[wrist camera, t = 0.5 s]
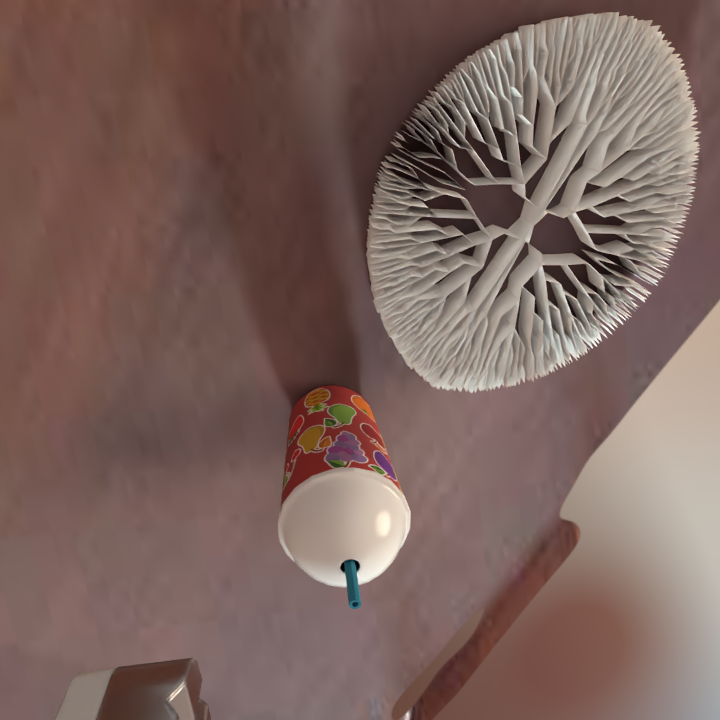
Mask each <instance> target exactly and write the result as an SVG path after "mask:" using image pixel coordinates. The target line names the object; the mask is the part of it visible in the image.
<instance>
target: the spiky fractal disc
mask: <svg viewBox="0 0 720 720" xmlns="http://www.w3.org/2000/svg"><path fill="white" fill-rule="evenodd" d="M633 18H634V16H630V17H627V15H625V16H619V12H617V13H613V12H606V13H600V14H594V13H591V14H584V15H578V16H573V17H568V16H567V17H561V18H554V19H551V20H545V21H541V22H540V23H538V24H536V25H534V24H532V25H525V26H518V31H514V33H507V34H503V35H504V36H501V39H499V40H494V43H490V45H489V46H485V48H481V50H478V51H475V52H476V53H473V56H467V59H465V62H461V63H459V65H455V66H456V69H452V70H453V71H454V72H449V73H450V75H446V74H445V76H446V78H447V79H443V78H442V79H443V81H444V82H442V81H440V84H436V85H437V86H439V87H437V86H434V88H435V89H436V91H437V92H434V91H429V90H428V91H429V92H430V94H431V95H432V96H433V97H430V96H426V95H425V96H426V97H427V99H428V100H429V101H427V100H424V99H423V100H424V102H425V103H424V102H422V103H423V104H424V105H426V106H427V107H428V108H429V109H430V110H431V111H432V112H433V114H434V115H435V117H436V118H437V120H438V123H439V124H438V123H437V121H436V120H435V119H434V117H433V116H432V115H431V113H430V112H429V111H428V109H427V108H426V107H425V106H424V105H421V104H418V103H417V105H418V106H419V107H420V109H421V110H422V111H423V112H422V111H421V110H418V109H415V108H414V109H415V110H416V111H417V112H418V113H416V112H414V111H412V112H413V113H414V114H415V115H416V116H417V118H419V119H420V120H421V121H423V122H424V123H425V124H426V125H427V126H428V127H429V128H430V131H431V134H432V135H431V134H430V133H429V132H428V131H427V130H426V129H425V128H424V127H423V126H422V125H421V124H420V123H419V122H418V121H417V120H416V119H414V118H411V117H410V118H411V119H412V120H413V121H414V123H415V124H416V125H417V126H418V127H419V128H420V129H421V130H422V131H423V132H424V133H425V134H426V135H428V136H430V137H432V138H433V139H435V140H436V141H438V142H440V143H441V144H443V143H442V141H441V138H440V135H439V132H438V131H437V130H436V129H435V128H434V127H433V126H432V125H430V124H429V123H428V122H427V121H426V120H428V121H429V122H431V123H432V124H433V125H434V126H435V127H436V128H437V129H438V130H439V131H440V132H441V133H442V134H443V135H444V136H445V138H446V139H447V140H448V141H449V142H450V143H451V144H453V145H455V146H457V147H459V148H463V149H466V150H467V151H468V153H469V154H470V155H471V157H472V158H473V160H474V161H475V162H476V164H477V165H478V167H479V168H480V170H481V171H482V172H483V174H484V175H485V177H482V178H466V177H465V176H464V175H463V174H462V173H461V172H459V171H458V169H457V165H456V161H455V157H454V153H453V150H452V149H451V148H449V147H448V146H446V145H445V144H443V148H444V151H445V155H446V159H447V160H446V159H445V158H444V157H443V156H442V155H441V154H440V153H439V152H438V151H437V149H436V147H435V145H434V144H433V142H432V140H431V139H430V138H429V137H427V136H426V135H425V134H424V133H423V132H422V131H420V130H419V129H418V128H417V127H415V126H414V125H413V124H412V123H410V122H408V121H406V120H405V121H406V122H407V123H409V124H410V125H411V126H412V127H414V128H415V129H416V130H417V131H418V132H419V133H421V134H422V135H423V137H424V139H425V140H426V142H427V144H426V143H425V142H424V141H423V140H422V139H421V138H420V137H419V136H418V135H417V134H416V133H415V130H414V129H412V128H411V127H410V126H409V125H407V124H405V123H403V122H402V123H403V124H405V125H406V126H407V128H406V129H408V130H409V131H410V132H411V133H412V134H413V135H414V136H415V137H413V136H411V137H413V138H414V139H417V140H419V141H422V142H423V143H424V144H426V145H427V146H429V147H430V148H431V149H432V150H433V151H434V152H435V153H436V154H438V155H439V156H440V157H441V158H442V160H444V161H445V162H446V163H448V164H449V165H450V166H451V167H452V168H453V169H454V170H455V171H456V172H457V173H458V174H460V175H461V176H462V177H463V178H464V179H465V180H467V181H469V182H470V183H472V184H473V185H493V184H512V190H513V191H514V192H515V193H517V194H518V195H519V196H521V197H522V198H523V199H525V202H524V205H523V209H522V212H521V216H520V218H519V219H518V220H517V221H516V222H515V223H514V224H513V225H512V226H511V227H510V228H508V229H504V228H501V227H498V226H495V225H490V226H488V227H486V228H484V227H483V225H482V224H481V222H480V221H479V219H478V218H477V216H476V214H475V213H474V211H473V209H472V207H471V206H470V204H469V202H468V201H467V199H465V198H464V197H463V196H461V195H460V194H459V193H457V192H455V191H451V190H447V189H443V188H439V187H435V186H431V185H429V184H427V183H424V182H422V181H421V180H420V179H419V178H418V176H417V175H416V173H415V172H414V170H413V169H412V168H411V167H410V166H408V165H407V164H406V163H408V164H410V165H412V166H414V167H416V168H417V169H419V170H421V171H422V172H424V173H426V172H425V171H423V170H422V169H420V168H418V167H417V166H415V165H413V164H412V163H410V162H408V161H407V160H405V159H403V158H401V157H399V156H397V155H395V154H393V153H392V154H393V155H394V156H395V157H396V158H398V159H400V160H402V161H404V162H406V163H404V162H402V161H400V160H397V159H395V158H393V157H391V156H385V157H386V158H387V159H388V160H389V161H390V162H398V163H400V164H402V165H404V166H407V167H408V168H409V169H410V171H411V172H412V173H411V172H409V171H407V170H405V169H402V168H400V167H398V166H395V165H393V164H391V163H388V162H386V161H385V160H384V161H385V162H381V163H382V164H383V165H384V167H385V168H383V167H381V166H380V167H381V169H382V170H383V171H384V172H386V173H384V172H382V171H381V170H379V169H378V170H379V171H380V172H381V173H382V174H381V173H378V172H377V173H378V174H379V175H380V176H377V175H376V176H377V177H378V178H379V179H380V181H377V182H378V184H379V185H378V184H376V183H375V182H374V183H375V184H376V186H374V188H375V189H373V190H374V191H375V192H376V194H372V196H373V197H374V198H373V200H374V201H372V202H373V203H374V205H373V204H370V205H371V206H372V208H373V209H369V211H370V213H371V214H372V215H368V216H369V218H368V219H369V221H370V222H369V224H370V225H369V226H368V227H369V229H367V231H368V233H367V235H368V237H366V238H367V240H368V241H366V242H367V244H366V246H367V249H368V250H366V251H367V253H365V254H366V256H367V260H368V261H367V265H368V268H369V270H368V271H369V273H370V274H369V276H370V278H369V279H370V281H371V287H370V289H371V291H372V294H373V297H374V300H373V302H374V305H375V308H376V311H377V313H380V315H381V316H380V317H381V320H382V322H383V325H384V328H385V330H387V333H388V336H389V338H390V337H391V338H392V340H393V342H394V345H395V347H396V348H397V350H398V352H399V354H400V353H401V355H402V357H403V358H404V360H405V363H406V364H407V366H408V365H409V367H410V369H411V370H412V369H413V368H414V369H415V372H416V374H417V372H418V374H419V376H420V377H421V376H422V377H423V379H424V382H425V380H426V381H427V382H428V381H429V383H430V385H431V388H432V386H433V387H435V386H436V388H438V391H439V389H440V387H441V386H442V388H443V389H444V387H445V389H446V390H448V391H449V390H450V388H451V390H452V388H453V390H454V392H455V390H456V387H457V389H458V391H459V390H460V392H461V390H462V388H463V387H464V389H465V391H466V393H467V391H468V390H469V392H472V393H473V390H474V391H475V393H476V391H477V388H479V390H480V392H481V390H482V391H483V390H485V389H486V391H488V388H489V389H490V390H491V389H492V388H493V389H494V390H495V387H496V386H497V387H498V389H499V388H500V386H501V384H502V386H503V387H504V385H505V386H506V388H507V387H508V386H509V387H510V386H511V385H512V387H513V384H514V386H515V387H516V382H518V384H519V385H520V378H521V379H522V381H523V382H524V383H525V376H526V378H527V379H528V380H529V379H530V378H531V380H532V381H533V382H534V376H535V377H536V379H537V373H538V374H539V375H540V377H541V376H543V377H544V374H545V376H546V373H547V374H548V372H549V370H550V371H551V372H552V370H553V371H554V367H555V368H556V369H557V365H556V362H557V364H558V365H559V366H560V367H561V368H562V366H561V363H562V364H563V365H564V366H565V362H564V361H565V360H564V358H565V359H566V360H567V361H568V362H569V359H570V360H571V357H570V354H571V355H572V356H573V357H574V358H575V359H576V360H577V357H578V358H579V354H578V352H579V350H580V351H581V352H582V353H583V354H584V355H585V353H584V351H585V352H586V353H587V349H586V347H587V346H586V345H585V344H584V343H583V341H582V339H583V340H584V341H585V342H586V343H587V344H588V345H589V346H591V347H592V345H591V343H590V341H591V342H592V343H593V344H594V345H595V346H596V343H595V341H597V342H598V340H597V338H598V339H599V340H600V341H601V342H602V340H601V337H600V334H599V332H601V333H602V334H603V335H604V336H605V337H606V335H605V334H604V332H603V330H602V329H601V327H600V326H599V324H600V325H601V326H602V327H604V328H605V329H606V330H607V331H608V332H610V331H609V329H608V328H607V327H606V326H604V325H603V324H602V323H601V322H600V321H598V320H597V319H596V318H595V317H594V316H593V315H592V312H593V310H594V312H595V313H596V314H597V316H598V317H599V318H600V319H601V320H603V321H604V322H605V323H606V324H607V325H609V326H610V327H611V328H612V329H614V328H613V327H612V326H611V324H610V323H609V322H608V321H610V322H611V323H612V324H613V325H615V323H614V321H613V320H612V319H611V318H610V316H609V315H608V313H609V314H610V315H611V316H613V317H614V318H615V319H616V320H618V321H619V322H620V323H622V322H621V320H620V319H619V318H618V316H617V315H616V313H617V314H618V315H619V316H621V315H620V314H619V313H618V312H616V311H615V310H614V309H612V308H611V307H610V306H608V305H607V304H606V303H605V302H604V301H603V299H602V298H604V299H605V300H606V301H607V302H608V303H609V304H610V305H611V306H612V307H614V308H615V309H616V310H618V311H619V312H620V313H622V314H623V313H624V314H626V315H628V314H627V313H625V312H624V311H623V310H621V309H620V308H619V307H617V306H616V305H615V303H616V304H618V305H619V306H621V307H622V308H623V309H625V310H626V311H627V312H629V311H628V310H627V309H626V308H625V307H624V306H623V305H622V303H621V302H620V301H622V302H623V303H624V304H626V303H625V302H624V301H623V300H625V301H626V302H628V303H629V304H631V305H632V306H633V307H635V305H636V304H634V303H633V302H632V301H630V300H629V299H628V298H630V299H633V298H631V297H630V296H628V295H627V294H625V293H624V292H622V291H621V290H619V289H618V288H615V287H613V286H612V285H611V284H610V283H609V282H611V283H612V284H614V285H619V286H633V287H634V288H636V289H637V290H639V291H641V292H642V293H644V294H645V295H647V294H646V293H648V294H651V293H649V292H648V291H646V290H645V289H646V288H645V289H643V288H644V287H643V288H641V287H640V286H641V285H640V286H638V285H639V284H638V283H636V282H634V281H633V280H631V279H629V278H628V277H626V276H624V275H622V274H621V273H619V272H616V271H614V270H612V269H610V268H607V267H605V266H604V265H603V264H602V263H600V262H599V261H598V260H601V261H605V262H608V263H612V264H615V263H614V262H612V261H611V260H609V259H607V258H606V257H604V256H602V255H601V254H597V253H593V252H590V251H586V250H583V249H581V250H582V251H583V252H584V253H586V254H587V255H588V256H589V257H590V258H591V259H593V260H594V261H595V262H596V263H598V264H599V265H601V266H602V267H604V268H605V269H607V270H609V271H610V272H612V273H613V275H605V274H599V273H598V272H597V271H596V270H595V269H594V268H593V267H592V266H591V265H590V264H589V263H587V262H586V261H584V260H583V259H581V258H580V257H578V256H577V255H575V254H574V253H564V254H542V253H541V252H540V251H538V250H537V249H535V248H534V247H533V246H531V245H530V244H529V242H530V238H531V235H532V231H533V228H534V225H536V224H537V223H538V222H539V221H540V220H541V219H542V218H543V217H544V216H545V215H546V214H547V213H550V214H553V215H556V216H559V217H562V218H565V217H568V219H569V220H570V222H571V224H572V226H573V228H574V229H575V231H576V233H577V235H578V237H579V239H580V241H582V242H583V243H585V244H586V245H588V246H590V247H591V248H593V249H595V250H596V251H600V252H604V253H608V254H613V255H617V256H618V257H619V259H620V261H621V263H622V265H623V266H625V267H626V268H628V269H630V270H631V271H633V272H635V273H636V274H638V275H640V276H642V277H644V278H645V279H647V280H649V281H650V282H652V283H654V284H655V285H657V284H656V283H655V282H658V281H656V280H655V279H653V278H651V277H649V276H648V275H646V274H644V273H643V272H641V271H638V269H640V270H643V271H645V272H647V273H649V274H652V275H654V276H655V277H657V278H659V277H663V276H661V275H660V274H658V273H656V272H654V271H652V270H651V269H649V268H647V267H645V266H638V265H635V264H633V263H632V262H631V261H630V260H628V259H627V258H629V259H634V260H638V261H641V262H643V263H645V264H647V265H649V266H651V265H652V266H651V267H652V268H654V269H656V268H655V267H653V266H658V267H661V268H662V267H663V266H664V265H662V264H660V263H659V262H661V263H664V264H667V263H665V262H663V261H661V260H659V259H657V258H660V259H666V260H669V259H667V258H665V257H663V256H661V255H659V254H658V253H656V252H654V251H657V252H660V253H662V254H664V255H666V254H668V255H672V254H670V253H668V252H673V251H671V250H669V249H667V248H677V247H674V246H672V245H670V244H668V243H666V242H664V241H670V242H671V241H674V242H678V241H676V240H674V239H671V238H679V237H677V236H675V235H673V234H670V233H668V232H666V231H664V230H661V229H655V228H657V227H661V228H663V229H666V230H668V231H670V232H673V233H681V232H679V231H677V230H674V229H672V228H670V227H683V226H681V225H678V224H676V223H681V222H683V221H686V220H684V219H681V218H684V217H686V216H683V215H682V214H690V213H687V212H685V211H682V210H687V209H689V208H687V207H684V206H681V205H678V204H685V205H689V204H686V203H689V202H692V200H689V199H692V198H694V197H691V196H688V195H692V194H689V193H690V192H693V191H694V190H691V189H694V188H696V187H692V186H689V185H686V184H689V183H696V182H694V181H692V180H693V179H695V178H692V177H688V176H694V175H693V174H696V173H697V172H693V170H695V169H698V168H694V167H690V166H692V165H695V164H699V163H695V162H692V161H695V160H699V159H696V158H697V157H698V156H696V155H694V154H696V153H698V152H699V151H697V149H700V148H697V147H698V146H699V145H698V142H693V141H694V140H696V139H698V138H700V137H694V136H696V135H697V134H699V133H701V132H699V131H695V130H696V129H698V128H693V127H691V126H693V125H694V124H696V123H698V122H693V121H691V120H693V119H694V118H695V117H697V116H694V115H693V114H694V113H695V112H697V111H698V110H694V109H695V108H696V107H694V105H695V104H692V103H694V102H695V100H690V99H692V98H688V96H689V95H690V93H691V92H692V91H687V90H688V89H689V88H690V87H691V86H687V85H688V84H689V83H690V82H685V81H686V80H687V79H688V78H689V77H686V76H684V75H685V74H686V73H684V72H685V71H686V70H680V69H681V68H682V66H683V65H684V64H680V63H681V62H682V61H683V60H681V59H682V58H677V57H678V56H679V55H680V54H672V52H673V51H674V49H675V48H673V47H668V46H669V45H670V44H671V43H672V42H667V41H668V40H662V38H663V37H664V35H665V34H661V33H662V32H657V31H658V29H659V28H660V26H661V25H659V26H650V25H651V23H652V22H653V20H649V21H644V20H637V19H638V18H637V19H633ZM537 98H538V101H539V103H540V108H539V114H538V120H537V126H536V132H535V138H534V144H533V130H534V120H535V111H536V103H537ZM451 99H453V100H454V102H455V104H456V106H457V108H458V110H459V111H458V110H457V108H456V107H455V105H454V104H453V102H452V100H451ZM437 101H438V102H440V103H441V104H443V105H445V106H447V108H448V109H449V111H450V112H451V114H452V115H453V117H454V119H455V124H454V123H453V122H452V120H451V119H450V118H449V117H448V115H447V114H446V113H445V111H444V110H443V109H442V107H441V106H440V105H439V103H438V102H437ZM420 102H421V101H420ZM560 102H561V103H560ZM559 103H560V106H559V109H558V111H557V114H556V117H555V119H554V116H555V111H556V107H557V106H558V104H559ZM468 110H469V111H470V112H471V113H473V114H474V115H475V116H477V119H478V121H479V124H480V127H481V129H482V132H483V135H484V137H485V140H486V142H487V143H485V142H484V140H483V138H482V136H481V134H480V132H479V130H478V128H477V126H476V124H475V122H474V120H473V118H472V116H471V114H470V113H469V111H468ZM459 112H460V113H461V115H462V116H461V115H460V113H459ZM411 115H412V114H411ZM413 116H414V115H413ZM416 116H415V117H416ZM489 116H490V120H491V125H492V126H493V127H496V128H498V129H499V131H502V132H504V137H505V146H506V154H507V160H503V157H502V155H501V152H500V149H499V146H498V143H497V141H496V138H495V135H494V133H493V130H492V127H491V125H490V122H489ZM462 117H463V118H462ZM424 118H425V119H426V120H425V119H424ZM515 119H516V120H517V121H518V122H519V136H518V137H517V130H516V124H515ZM465 124H466V125H467V127H468V129H469V131H470V133H471V135H472V137H473V138H475V139H477V140H479V141H481V142H483V143H485V144H487V145H488V148H489V151H490V154H491V156H493V157H495V158H497V159H499V160H502V161H504V162H507V163H508V165H509V169H510V173H511V177H493V176H492V175H491V173H490V172H489V171H488V169H487V168H486V166H485V165H484V163H483V162H482V161H481V159H480V158H479V156H478V155H477V153H476V152H475V151H474V149H473V148H472V147H471V145H470V144H469V143H468V141H467V140H466V139H465ZM448 126H449V127H450V129H451V130H452V131H453V133H454V134H455V135H456V136H457V138H458V139H459V140H460V142H461V143H462V144H463V145H458V144H457V143H456V142H455V141H454V140H453V139H452V137H451V136H450V135H449V129H448ZM567 126H568V127H567ZM566 127H567V129H566V131H565V133H564V135H563V137H562V139H561V140H560V142H559V144H558V146H557V148H556V150H555V152H554V154H553V156H552V158H551V160H550V162H549V164H548V166H547V167H546V169H545V171H544V173H543V175H542V177H541V179H540V181H539V183H538V184H537V186H536V188H535V190H534V192H533V194H532V196H531V198H530V200H528V199H527V198H526V196H525V184H526V183H527V182H528V181H529V179H530V178H531V177H532V176H533V175H534V174H535V173H536V171H537V170H538V169H539V168H540V167H541V166H542V165H543V163H544V162H545V161H546V160H547V157H548V151H549V145H550V143H551V142H552V141H553V140H554V139H555V138H556V137H557V136H558V135H559V134H560V133H561V132H562V131H563V130H564V129H565V128H566ZM400 130H401V129H400ZM395 132H396V131H395ZM403 132H404V131H403ZM396 133H397V132H396ZM405 133H406V132H405ZM406 134H407V133H406ZM397 135H398V136H399V137H398V136H396V137H397V138H399V139H400V140H403V141H406V140H405V139H404V138H403V136H402V135H400V134H399V133H397ZM408 135H409V134H408ZM394 136H395V135H394ZM409 136H410V135H409ZM394 141H395V142H396V143H394V142H391V143H392V144H393V145H395V146H397V147H401V148H404V147H402V146H401V144H400V143H399V142H397V141H396V140H394ZM389 142H390V141H389ZM518 142H519V143H521V144H522V145H523V146H524V147H525V148H526V149H527V150H528V151H529V152H530V153H531V156H530V157H529V158H528V159H527V160H526V161H525V163H524V164H523V165H522V166H521V163H520V154H519V146H518ZM395 146H394V147H395ZM397 147H396V148H397ZM587 147H588V148H587ZM415 148H416V147H415ZM397 149H398V148H397ZM404 149H405V148H404ZM586 149H587V151H586V155H585V158H584V161H583V165H582V167H580V168H579V169H578V170H577V171H575V172H574V173H573V174H572V175H570V177H569V180H568V183H567V185H566V188H565V191H564V193H563V196H562V198H561V201H560V204H558V205H556V206H554V207H553V208H551V209H549V210H548V209H546V207H547V206H548V204H549V203H550V201H551V200H552V199H553V197H554V196H555V194H556V193H557V191H558V190H559V188H560V187H561V185H562V184H563V182H564V181H565V179H566V178H567V176H568V175H569V173H570V172H571V170H572V169H573V167H574V166H575V165H576V163H577V162H578V160H579V159H580V157H581V156H582V154H583V153H584V152H585V150H586ZM398 150H400V149H398ZM406 150H407V149H406ZM418 150H419V149H418ZM628 150H632V151H630V152H628V153H626V154H625V155H624V156H622V157H621V158H620V159H618V160H617V161H615V160H616V159H617V158H619V157H620V156H621V155H622V154H624V153H625V152H626V151H628ZM400 151H401V152H403V153H405V154H407V153H406V152H404V151H402V150H400ZM407 151H408V150H407ZM409 152H410V151H409ZM390 153H391V152H390ZM411 153H412V154H414V155H415V156H417V157H418V158H429V157H431V158H437V159H441V158H440V157H438V156H436V155H435V154H431V153H426V152H411ZM407 155H408V156H410V157H412V158H414V159H416V160H418V161H420V162H422V163H424V164H426V165H429V166H431V167H433V168H435V169H437V170H440V169H439V168H438V167H435V166H433V165H431V164H429V163H427V162H425V161H422V160H420V159H418V158H416V157H414V156H412V155H409V154H407ZM614 161H615V162H614ZM612 162H614V163H613V164H611V163H612ZM610 164H611V165H610ZM609 165H610V166H609ZM607 166H609V167H607ZM606 167H607V168H606ZM386 168H394V169H396V170H399V171H402V172H404V173H406V174H408V175H411V176H413V177H415V178H417V179H419V180H420V181H421V182H422V183H423V184H422V183H418V182H414V181H411V180H408V179H405V178H403V177H400V176H397V175H396V174H394V173H393V172H392V171H390V170H388V169H386ZM605 168H606V169H605ZM603 169H604V170H603ZM602 170H603V171H602ZM440 171H442V170H440ZM601 171H602V172H601ZM442 172H443V171H442ZM387 173H388V174H387ZM443 173H445V172H443ZM426 174H427V175H429V176H431V175H430V174H428V173H426ZM445 174H446V173H445ZM446 175H447V174H446ZM447 176H448V177H449V178H451V177H450V176H449V175H447ZM431 177H432V178H434V179H436V180H437V181H439V182H441V183H443V184H446V185H450V186H453V187H457V188H460V189H464V188H463V187H462V186H461V185H459V184H458V183H457V182H456V181H455V180H453V179H452V178H451V179H452V180H453V181H454V182H455V183H454V182H451V181H447V180H444V179H441V178H437V177H434V176H431ZM621 177H622V178H625V179H622V180H619V181H617V182H615V181H616V180H618V179H619V178H621ZM398 181H399V182H398ZM613 182H614V183H613ZM587 183H591V184H594V185H597V186H601V187H602V188H599V189H597V190H595V191H592V192H590V193H588V194H586V195H583V196H582V194H583V192H584V189H585V186H586V184H587ZM611 183H612V184H611ZM415 188H421V189H425V190H424V191H421V192H419V193H416V192H414V191H412V190H409V189H415ZM390 189H391V190H390ZM393 190H396V191H393ZM464 190H465V189H464ZM444 194H446V195H450V196H454V197H458V198H460V199H461V200H462V202H463V204H464V205H465V207H466V209H467V210H448V209H426V208H428V207H427V206H426V205H425V204H424V203H423V202H422V201H421V200H419V199H411V198H409V197H413V196H415V197H418V198H420V199H422V200H424V201H426V200H429V199H432V198H435V197H438V196H441V195H444ZM616 196H617V197H619V198H622V199H624V200H626V201H623V202H618V203H613V204H608V205H603V206H598V207H594V208H593V206H596V205H598V204H600V203H602V202H605V201H607V200H609V199H612V198H614V197H616ZM410 206H417V207H425V208H413V207H410ZM691 206H692V205H691ZM584 209H588V210H590V211H592V212H594V213H596V214H598V215H600V216H602V217H609V216H615V217H617V218H619V219H621V220H624V221H626V222H625V223H624V224H622V225H621V226H614V225H595V224H582V222H581V221H580V219H579V217H578V216H577V214H576V212H577V211H581V210H584ZM643 209H645V210H647V211H638V210H643ZM633 211H637V212H633ZM389 214H398V215H389ZM423 216H425V217H439V218H466V219H474V220H475V222H476V223H477V225H478V226H479V228H480V229H481V230H480V231H477V232H474V233H470V234H467V235H464V234H463V233H462V232H461V231H459V230H458V229H457V228H456V227H454V226H453V225H451V226H447V227H440V226H438V225H436V224H434V223H433V222H431V221H429V220H423V221H417V220H418V219H420V218H421V217H423ZM681 224H683V223H681ZM685 225H686V224H685ZM425 230H427V231H425ZM414 231H422V232H417V233H413V232H414ZM588 233H606V234H617V235H619V236H620V237H622V238H624V239H626V240H628V241H630V242H628V243H623V242H621V241H619V240H613V241H610V242H607V243H604V244H601V245H596V244H593V242H592V240H591V238H590V236H589V234H588ZM503 234H506V235H508V236H507V238H506V239H505V241H504V242H503V244H502V245H501V247H500V248H499V250H498V251H497V253H496V254H495V256H494V257H493V259H492V260H491V262H490V263H489V265H488V266H487V268H486V269H485V271H484V272H483V274H482V275H481V277H480V278H479V280H478V281H477V283H476V284H475V285H474V287H473V288H472V290H471V291H470V293H469V294H468V296H467V293H468V289H469V285H470V281H471V277H472V276H473V275H475V274H476V273H477V272H478V271H480V270H481V269H482V268H483V266H484V264H485V261H486V258H487V255H488V252H489V249H490V246H491V243H492V240H493V239H495V238H497V237H499V236H501V235H503ZM626 234H630V235H626ZM682 234H684V233H682ZM459 235H463V236H462V237H460V238H457V239H455V240H453V241H451V242H448V243H446V244H444V245H442V246H440V245H438V244H437V243H433V242H432V241H435V240H440V239H445V238H450V237H454V236H459ZM669 237H671V238H669ZM525 242H527V243H528V255H527V257H526V258H525V259H524V260H523V261H522V262H521V263H520V264H519V265H518V266H517V267H516V269H515V270H514V271H513V272H512V273H511V274H510V275H509V281H508V287H507V289H506V290H505V291H504V292H502V293H501V294H500V295H499V296H498V297H497V298H496V299H495V297H496V296H497V294H498V292H499V290H500V288H501V286H502V284H503V282H504V280H505V279H506V277H507V275H508V273H509V271H510V269H511V267H512V266H513V264H514V262H515V260H516V258H517V256H518V255H519V253H520V251H521V249H522V247H523V245H524V243H525ZM674 242H672V243H674ZM675 244H676V243H675ZM475 245H476V247H475V250H474V253H473V256H472V257H471V256H467V255H464V254H460V253H459V252H461V251H463V250H466V249H468V248H470V247H472V246H475ZM636 250H637V251H636ZM664 250H665V251H664ZM666 251H668V252H666ZM674 253H675V252H674ZM668 255H666V256H668ZM673 256H674V255H673ZM668 257H669V256H668ZM445 258H446V259H445ZM670 258H671V257H670ZM442 259H444V260H442ZM597 259H598V260H597ZM672 259H673V258H672ZM439 260H442V261H439ZM657 261H658V262H657ZM575 264H585V265H586V268H587V274H588V280H589V282H591V283H592V284H593V285H595V286H596V287H597V290H598V293H599V295H600V296H601V297H602V298H601V297H600V296H599V295H598V294H597V293H596V292H594V291H593V290H592V289H590V288H589V287H588V286H586V285H585V284H584V283H582V282H579V281H578V280H577V278H576V277H575V275H574V274H573V273H572V271H571V270H570V268H569V267H568V265H575ZM542 265H560V266H561V267H562V269H563V270H564V272H565V273H566V275H567V276H568V277H569V279H570V280H571V282H572V283H573V284H574V286H575V287H576V288H577V289H578V294H577V299H576V298H575V297H573V296H572V295H571V294H570V293H568V292H567V291H566V290H565V289H563V288H562V285H561V284H560V283H559V282H557V281H556V280H555V279H554V278H552V277H551V276H550V275H549V274H548V273H545V272H544V270H543V266H542ZM616 265H617V264H616ZM668 265H669V264H668ZM618 266H619V265H618ZM458 267H459V268H458ZM664 267H666V266H664ZM457 268H458V269H457ZM637 268H638V269H637ZM667 268H668V267H667ZM455 269H456V270H455ZM623 269H624V268H623ZM454 270H455V271H454ZM656 270H658V269H656ZM452 271H454V272H453V273H451V274H450V275H449V276H447V277H446V278H445V279H444V280H442V281H441V282H440V283H439V284H435V283H437V282H438V281H439V280H441V279H442V278H444V277H445V276H446V275H448V274H449V273H450V272H452ZM658 271H660V270H658ZM628 272H629V271H628ZM661 272H662V271H661ZM630 273H631V272H630ZM663 273H664V272H663ZM631 274H633V273H631ZM665 274H666V273H665ZM633 275H635V274H633ZM532 276H533V281H534V290H535V297H536V303H537V309H538V315H539V316H538V315H537V314H536V313H535V312H534V307H535V297H534V296H533V295H532V294H531V293H530V292H529V291H528V290H527V289H525V288H524V287H523V285H524V284H525V283H526V282H527V281H528V280H529V279H530V278H531V277H532ZM635 276H636V277H638V278H640V277H639V276H637V275H635ZM623 278H625V279H627V280H629V281H631V282H629V281H626V280H625V279H623ZM640 279H641V280H643V281H645V280H644V279H642V278H640ZM659 279H660V278H659ZM607 280H608V281H609V282H608V281H607ZM546 281H550V284H551V287H552V289H553V292H554V295H555V298H556V300H557V303H558V308H557V307H556V306H555V305H554V304H553V303H551V302H550V301H549V300H548V296H547V286H546ZM633 282H634V283H633ZM645 282H647V281H645ZM635 283H636V284H635ZM647 283H648V282H647ZM637 284H638V285H637ZM649 284H650V283H649ZM651 285H652V284H651ZM657 286H658V285H657ZM604 287H605V288H606V289H607V290H608V291H609V292H610V293H611V294H613V295H614V296H615V297H616V298H617V299H619V300H620V301H619V300H617V299H616V298H614V297H613V296H612V295H610V294H609V293H607V292H606V291H605V288H604ZM626 289H627V291H629V292H630V293H632V294H633V295H635V296H636V297H638V298H639V299H641V300H642V301H644V299H646V298H645V297H643V296H641V295H640V294H638V293H637V292H635V291H634V290H632V289H631V288H629V287H626ZM521 290H522V295H521ZM452 292H453V293H452ZM450 293H452V294H451V295H450V296H449V297H448V298H447V299H446V297H447V296H448V295H449V294H450ZM587 293H590V297H589V295H588V294H587ZM565 294H566V296H567V298H568V300H569V302H570V304H571V306H572V308H573V310H574V312H575V314H576V318H575V317H574V316H573V315H572V314H571V311H570V308H569V306H568V303H567V300H566V297H565ZM520 296H521V306H520V314H519V322H518V330H519V335H518V333H517V331H516V330H515V325H516V319H517V313H518V307H519V301H520ZM647 296H648V295H647ZM648 297H649V296H648ZM621 298H622V299H623V300H622V299H621ZM494 299H495V300H494ZM445 300H446V301H445ZM633 300H634V299H633ZM647 300H648V299H647ZM635 301H636V300H635ZM644 302H645V301H644ZM638 303H639V302H638ZM645 303H646V302H645ZM626 305H627V304H626ZM641 305H642V304H641ZM627 306H628V305H627ZM636 306H637V305H636ZM629 307H630V306H629ZM638 307H639V306H638ZM630 308H631V307H630ZM631 309H632V308H631ZM636 309H637V308H636ZM634 311H635V310H634ZM629 313H630V312H629ZM624 314H623V315H624ZM630 314H631V313H630ZM585 315H586V316H585ZM626 315H624V316H626ZM628 316H630V315H628ZM586 317H587V318H586ZM621 317H622V316H621ZM626 317H627V316H626ZM630 317H631V316H630ZM622 318H623V317H622ZM627 318H628V317H627ZM587 319H588V320H589V322H590V323H591V325H592V326H591V325H590V324H589V322H588V320H587ZM623 319H624V318H623ZM628 319H629V318H628ZM622 324H623V323H622ZM617 325H618V324H617ZM593 326H594V327H595V328H596V329H597V330H598V331H599V332H598V331H597V330H596V329H595V328H594V327H593ZM615 326H616V325H615ZM616 327H617V326H616ZM617 328H618V327H617ZM610 333H611V332H610ZM611 334H612V333H611ZM596 337H597V338H596ZM606 338H607V337H606ZM589 340H590V341H589ZM594 340H595V341H594ZM598 343H599V342H598ZM592 348H593V347H592ZM569 353H570V354H569ZM579 353H580V352H579ZM580 354H581V353H580ZM576 356H577V357H576ZM571 361H572V360H571ZM577 361H578V360H577ZM569 363H570V362H569ZM553 365H554V367H553ZM557 370H558V369H557ZM545 372H546V373H545ZM554 372H555V371H554Z"/></svg>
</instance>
